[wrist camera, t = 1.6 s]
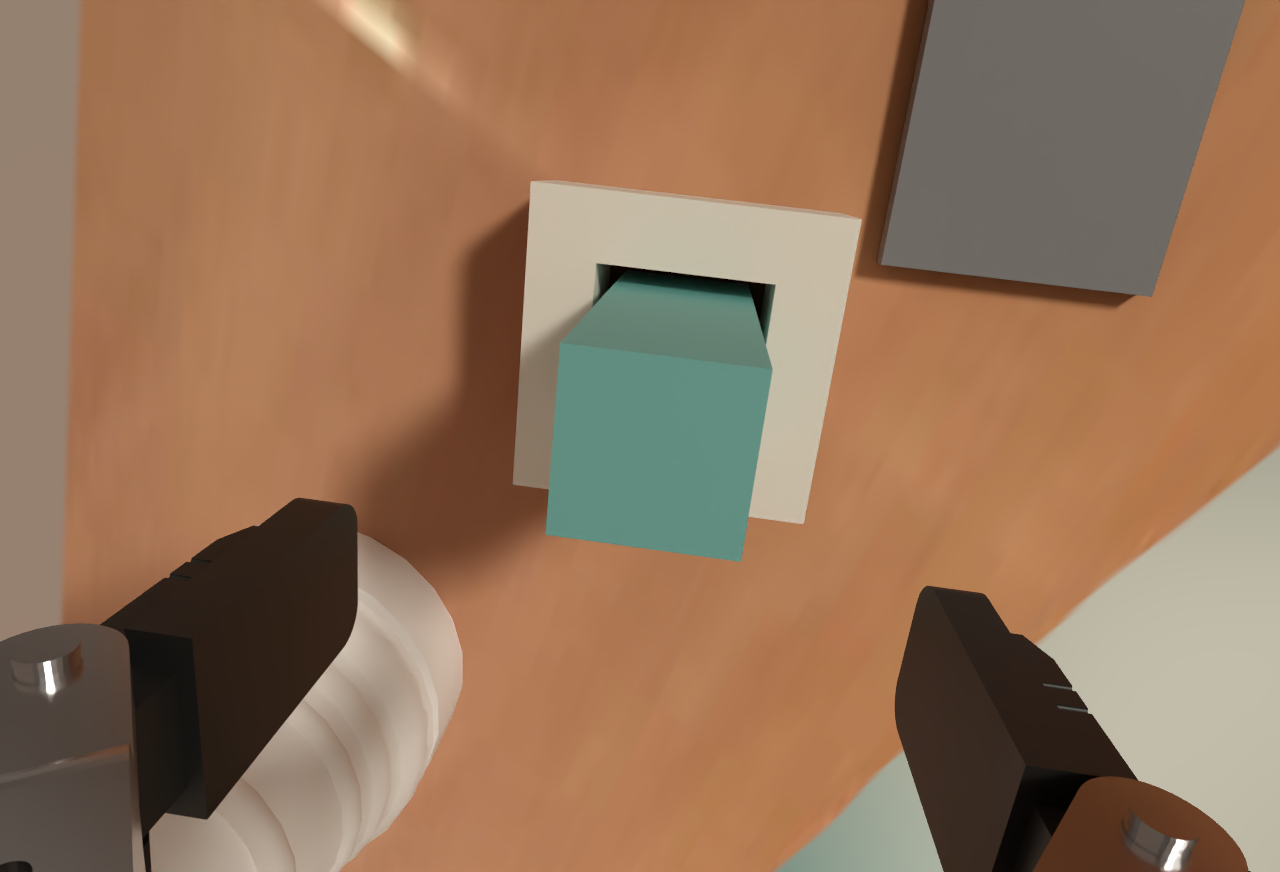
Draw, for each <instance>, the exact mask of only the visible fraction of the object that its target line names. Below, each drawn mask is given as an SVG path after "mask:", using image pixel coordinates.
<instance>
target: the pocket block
mask: <svg viewBox="0 0 1280 872" xmlns="http://www.w3.org/2000/svg"><path fill="white" fill-rule="evenodd" d="M861 221H862V219H859V218H856V217H853V216H849V215H846V214H843V213H837V212H828V211H820V210H811V209H802V208H794V207H785V206H776V205H768V204H759V203H750V202H742V201H733V200H724V199H716V198H707V197H698V196H690V195H681V194H672V193H664V192H655V191H646V190H638V189H629V188H620V187H612V186H603V185H594V184H586V183H577V182H568V181H560V180H547V181H531V190H530V206H529V223H528V240H527V256H526V273H525V289H524V306H523V322H522V339H521V356H520V372H519V389H518V405H517V422H516V438H515V455H514V472H513V485H519V486H527V487H534V488H542V489H549V482H550V468H551V455H552V442H553V429H554V416H555V403H556V390H557V377H558V364H559V350H560V342H561V341H562V340H563V339H564V338H565V337H566V336H567V335H568V334H569V332H570V331H571V330H572V329H573V328H574V327H575V326H576V325H577V324H578V323H579V322H580V320H581V319H582V318H583V317H584V316H585V315H586V314H587V313H588V312H589V311H590V310H591V308H592V307H593V306H594V305H595V304H596V303H597V302H598V301H599V300H600V299H601V298H602V296H603V295H604V294H605V293H606V292H607V291H608V288H609V278H610V267H611V265H616V266H625V267H633V268H641V269H649V270H658V271H666V272H674V273H683V274H691V275H699V276H708V277H716V278H724V279H732V280H741V281H749V282H757V283H766V285H765V291H764V298H763V304H762V310H761V317H760V327H761V330H762V334H763V337H764V341H765V344H766V348H767V351H768V355H769V358H770V362H771V365H772V369H773V371H772V377H771V383H770V389H769V395H768V401H767V407H766V413H765V419H764V425H763V431H762V438H761V444H760V450H759V456H758V462H757V468H756V474H755V480H754V486H753V492H752V498H751V504H750V510H749V516H748V517H755V518H762V519H770V520H777V521H784V522H792V523H799V524H804V519H805V514H806V509H807V504H808V498H809V493H810V488H811V483H812V477H813V472H814V467H815V462H816V456H817V451H818V446H819V441H820V436H821V430H822V425H823V420H824V415H825V409H826V404H827V399H828V394H829V388H830V383H831V378H832V373H833V368H834V362H835V357H836V352H837V347H838V341H839V336H840V331H841V326H842V320H843V315H844V310H845V305H846V300H847V294H848V289H849V284H850V279H851V273H852V268H853V263H854V258H855V252H856V247H857V242H858V237H859V232H860V226H861Z"/></svg>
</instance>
